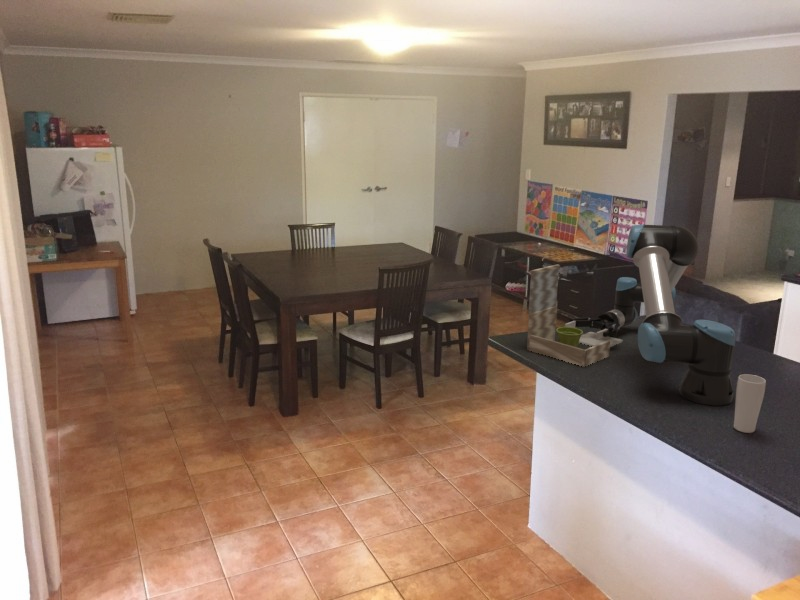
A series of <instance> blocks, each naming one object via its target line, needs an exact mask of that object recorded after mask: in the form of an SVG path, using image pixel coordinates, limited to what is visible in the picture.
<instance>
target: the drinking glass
mask: <svg viewBox="0 0 800 600" xmlns="http://www.w3.org/2000/svg"><path fill="white" fill-rule="evenodd" d="M766 384H767V381H766V379H765V378H763V377H761V376H759V375H754V374H749V373H747V374H746V373H744V374H740V375H739V376H738V377H737V382H736V386H735V387H736V388H735V401H734V402H735V404H734V421H733V428H734V429H735V430H736V431H739V432H741V433H744V434H745V433H746V434H752V433H754V432H755V431H756V427H757V424H758V423H757V422H758V419H759V416H760V412H761V408H762V404H763V400H764V398H765V392H766V386H767V385H766Z"/></svg>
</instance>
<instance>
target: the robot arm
mask: <svg viewBox="0 0 800 600" xmlns="http://www.w3.org/2000/svg"><path fill="white" fill-rule="evenodd" d="M625 249H626V251H625V254H626V258H628V259H630V260H633V261H632V262H633V264H634V265H635V266H636V267H637V268H638V270H639V277H640V282H639V283H638V281H637V279H636V278H634V277H629V276H622V277H619V278H618V279H617V281H616V287H615V296H614V297H615V298H614V305H613V307H614V308H613V309H611V310H609V311H606V312H602V313H601V314H600V315H599V316H598V317H596V318H592V317H591V316H586V317H585V316H584V317H575V318H569V319H568V322H566V323H564V326H563V327H573V328H579V327H580V328H589V329H596V330H597V329H599V331H597V332H596V333H597V334H596V340H599V339H601V338H604V337H607V336H609V337H613V338H617V336H618V332H619V331H620V328H623V327H625V326H629V325H631V324H632V323H634V322H635V321H636V320H637V318H638V315H639V314H638V310H637V309H636V307H635V303H643V304H644V311H645V316H646V317H645V318H644V319H643V321H642V323H641V324H640V325H639V326H638V329H637V345H638V350H639V353H640V355H641V357H642V358H643V359H644V360H646V361H648V362H654V363H655V362H656V363H659V364H660V363H669V364H670V363H671V364H673V363H674V364H688V367H687V368H688V369H687V371H686V372H685V374H684V376H683V378H682V380H681V382H680V384H679V389H678V393H679V395H680V396H681V397H682V398H684V399H686V400H687V401H691V402H694V403H698V404H700V405H701V404H702V405H708V406H727V405H730V404H731V403H732V402H734V401H733V399H734V389H733V385H732V380H731V370H732V363H733V358H734V357H733V356H734V351H735V346H736V332H735V330H734V329H733V328H732V327H730V326H729V325H727V324H725V323H724V324H723V323H721V322H718V321H713V320H708V319H696V320H694V322H693V325H691V324H688V325H687V324H683V320H682V318H681V316H680V315H678V314H677V313H676V312H675V306H674V301H675V300H676V299H675V298H676V296H677V295H676V294H677V293H676V291H677V290H676V286H677V284H678V283H679V280H680V279H681V277H682V276H683V274H684V272H685V271H686V269H687V268H688V266H691V265H692V264H693V263H694V262H695V261H696V259H697V257H698V255H699V251H700V245H699V241H698V240H697V238H696V236H695V235H694V233H693V232H692V231H691V230H689V229H688V228H686V227H684V226H681V225H664V224H663V225H662V224H646V223H645V224H635V225H633V226H631V228H630V230H629V233H628V236H627V242H626V248H625Z"/></svg>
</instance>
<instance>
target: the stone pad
mask: <svg viewBox="0 0 800 600" xmlns="http://www.w3.org/2000/svg"><path fill="white" fill-rule="evenodd" d="M596 334H597V332H593V331H589V332H585V333H583V334H581V337H580V340H579V344H580V343H582V344H581V345H584V344H585V345H584V346H587V345H589V347H591V346H595V345H597V344H600V343H602V342H605V341H607V340H609V341H610V348H611V347H614V346H617V345H619V344H622V343H623V341H624V340H623V339H621V338H617V337H613V336H607V337H604V338H601V339H599V340H596ZM616 344H617V345H616Z"/></svg>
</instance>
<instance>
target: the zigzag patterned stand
mask: <svg viewBox="0 0 800 600" xmlns="http://www.w3.org/2000/svg"><path fill="white" fill-rule="evenodd" d="M560 267H561V265H560V264H553V265H549V266H545V267H541V268H536V269H535V268H534V269H532V270H530V284H529V300H528V302H529V303H528V325H527V340H526V341H527V342H526V343H527V344H526V351H529V352H531V351H532V353H535V354H538V353H539V354H538V355H541V354H543V355H542V356H545V355H546V356H545V357H548V356H550V357H549V358H551V357H553V358H552V359H554V358H556V359H555V360H558V359H559V361H561V360H563V361H562V362H564V361H565V362H564V363H568V362H569V363H568V364H571V363H572V364H571V365H574V364H576V365H575V366H577V365H579V366H578V367H581V366H582V367H581V368H586V367H589V366H590V364H591V365H593V364H596V363H597V361H598V362H599V361H602V360H604V358H605V359H607V358H609V357H610V350H611V347H610V341H609V340H607V341H605V342H602V343H600V344H597V345H595V346H592V347H591V346H589V347H588V348H586V349H583V348H581V347H578V348H577V347H573V346H570V345H566V344H563V343H559V342H558V341H556V332H557V331H556V329H557V315H558V306H557V301H558V300H557V299H558V288H559V275H560V274H559V273H560V272H559V271H560ZM592 363H593V364H592ZM588 365H589V366H588ZM585 366H586V367H585Z"/></svg>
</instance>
